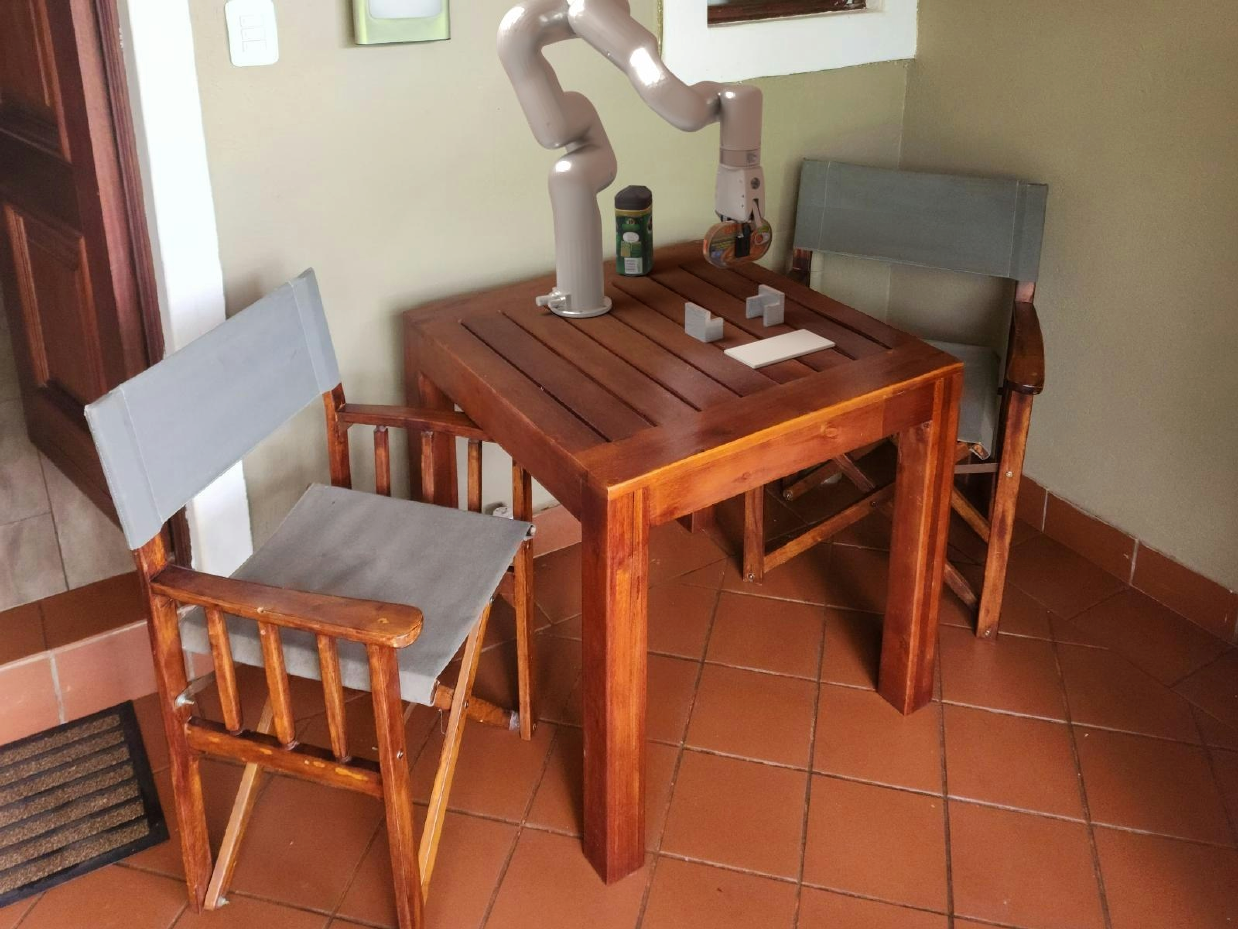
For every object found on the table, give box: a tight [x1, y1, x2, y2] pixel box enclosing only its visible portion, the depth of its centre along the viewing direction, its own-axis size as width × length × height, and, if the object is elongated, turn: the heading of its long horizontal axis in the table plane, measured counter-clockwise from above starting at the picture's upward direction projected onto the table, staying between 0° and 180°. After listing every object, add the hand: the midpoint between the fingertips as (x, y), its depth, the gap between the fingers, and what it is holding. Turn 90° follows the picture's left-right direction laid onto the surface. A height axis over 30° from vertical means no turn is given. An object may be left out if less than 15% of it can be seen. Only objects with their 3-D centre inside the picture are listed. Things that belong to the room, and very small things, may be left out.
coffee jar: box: [613, 184, 655, 277], centre depth 258 cm, size 10×8×19 cm
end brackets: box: [684, 284, 785, 344], centre depth 228 cm, size 7×19×6 cm, turn 122°
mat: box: [723, 328, 836, 369], centre depth 219 cm, size 19×9×1 cm, turn 122°
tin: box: [702, 218, 773, 269], centre depth 222 cm, size 15×3×8 cm, turn 122°
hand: (736, 253), depth 223 cm, fingers closed on tin, 2 cm apart
